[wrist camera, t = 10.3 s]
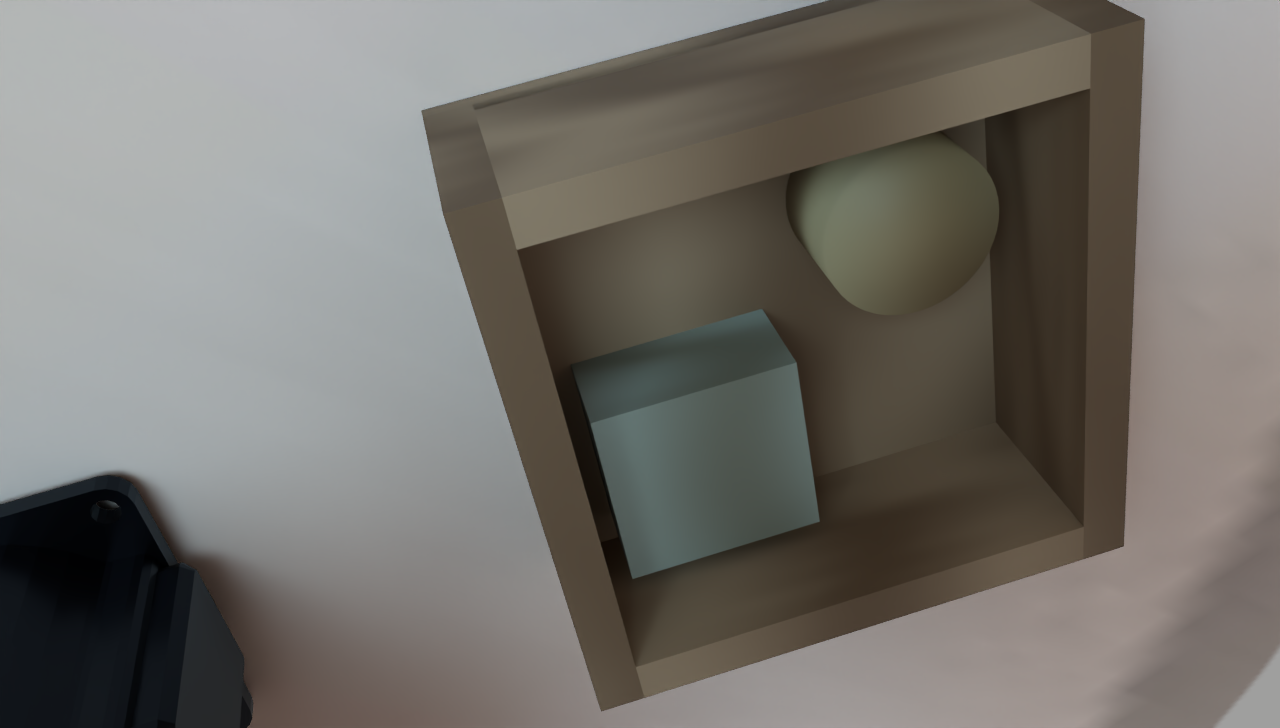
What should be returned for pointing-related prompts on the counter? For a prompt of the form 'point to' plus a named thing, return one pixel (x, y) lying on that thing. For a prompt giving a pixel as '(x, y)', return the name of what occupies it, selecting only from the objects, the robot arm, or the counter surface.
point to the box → (809, 316)
